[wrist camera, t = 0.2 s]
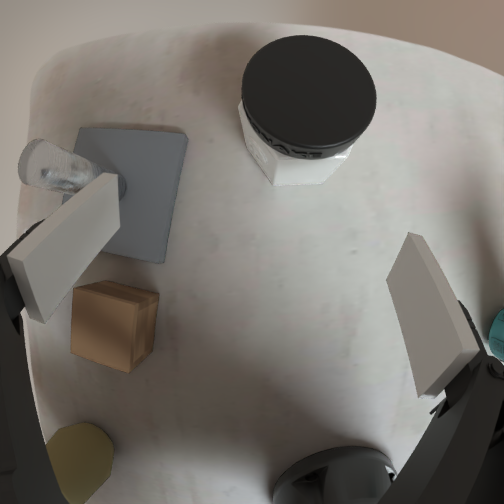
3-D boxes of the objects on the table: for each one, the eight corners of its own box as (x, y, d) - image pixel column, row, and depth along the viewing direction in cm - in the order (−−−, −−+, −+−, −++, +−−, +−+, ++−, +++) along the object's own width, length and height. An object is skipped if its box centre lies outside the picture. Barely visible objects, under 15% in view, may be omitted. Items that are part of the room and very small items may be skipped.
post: (123, 206, 28) (43, 186, 16) (97, 202, 28) (14, 183, 16) (130, 175, 27) (55, 138, 15) (103, 172, 28) (24, 138, 16)
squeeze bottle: (62, 438, 30) (-15, 510, 12) (76, 401, 30) (-17, 479, 12) (112, 474, 30) (51, 562, 12) (132, 441, 30) (61, 544, 12)
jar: (231, 130, 28) (210, 66, 16) (301, 89, 28) (318, 14, 16) (285, 207, 28) (298, 183, 16) (356, 162, 28) (406, 116, 16)
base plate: (164, 262, 29) (158, 263, 28) (64, 240, 30) (56, 240, 28) (188, 138, 29) (184, 133, 27) (87, 131, 29) (80, 127, 28)
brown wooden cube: (152, 351, 29) (129, 373, 23) (100, 335, 30) (70, 352, 24) (159, 293, 29) (134, 305, 23) (105, 280, 29) (73, 288, 23)
